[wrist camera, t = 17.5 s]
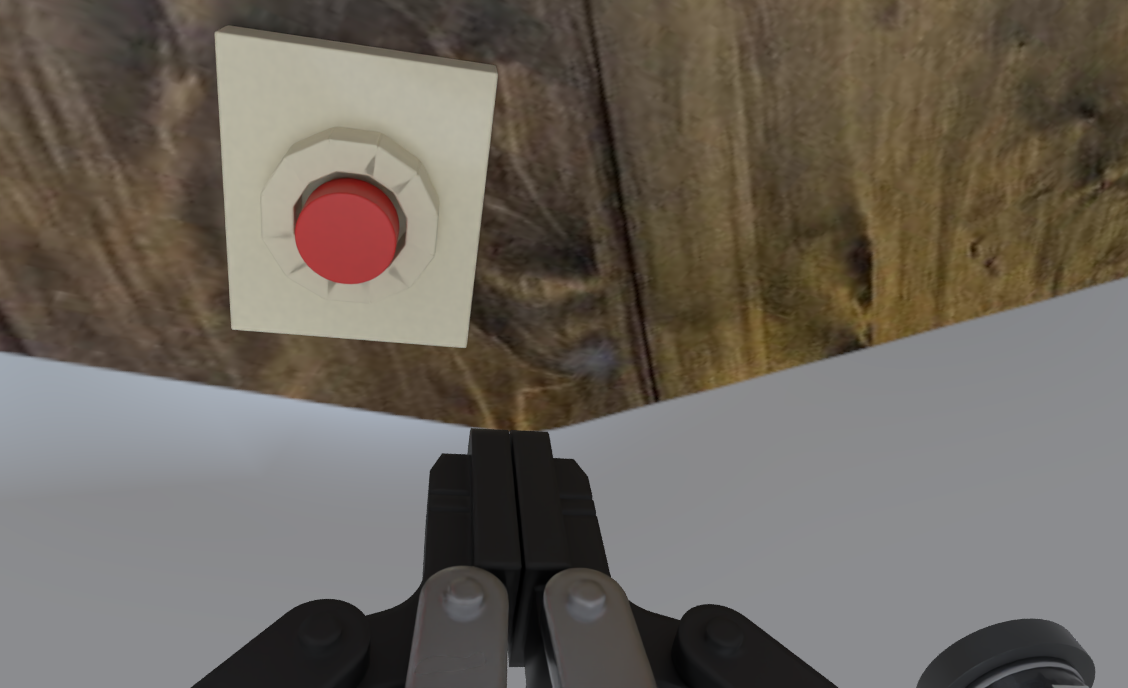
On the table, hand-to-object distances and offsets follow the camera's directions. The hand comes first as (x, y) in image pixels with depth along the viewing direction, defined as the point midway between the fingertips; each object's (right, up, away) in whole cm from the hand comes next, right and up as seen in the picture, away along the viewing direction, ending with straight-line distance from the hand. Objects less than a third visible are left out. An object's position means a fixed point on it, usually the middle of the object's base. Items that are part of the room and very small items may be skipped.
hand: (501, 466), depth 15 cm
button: (-7, +7, +14) cm, 17 cm away
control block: (-7, +9, +17) cm, 20 cm away
